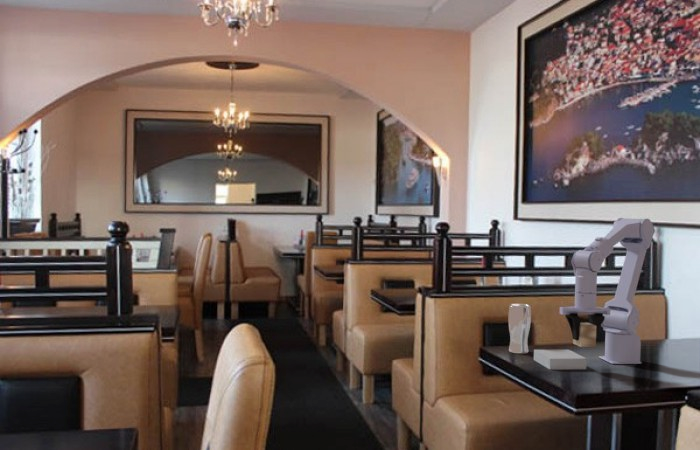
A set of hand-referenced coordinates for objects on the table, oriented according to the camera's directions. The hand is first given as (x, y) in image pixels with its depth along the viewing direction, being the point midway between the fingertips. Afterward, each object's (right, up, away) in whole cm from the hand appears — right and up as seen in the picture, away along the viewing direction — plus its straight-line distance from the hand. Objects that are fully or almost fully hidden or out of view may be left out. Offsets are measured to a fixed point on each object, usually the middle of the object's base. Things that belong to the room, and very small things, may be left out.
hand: (583, 339), depth 175 cm
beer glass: (-13, -8, +20) cm, 25 cm away
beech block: (0, -2, 0) cm, 2 cm away
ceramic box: (-5, -9, +5) cm, 11 cm away
